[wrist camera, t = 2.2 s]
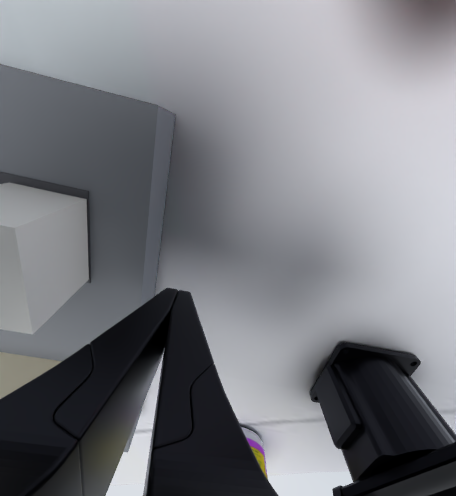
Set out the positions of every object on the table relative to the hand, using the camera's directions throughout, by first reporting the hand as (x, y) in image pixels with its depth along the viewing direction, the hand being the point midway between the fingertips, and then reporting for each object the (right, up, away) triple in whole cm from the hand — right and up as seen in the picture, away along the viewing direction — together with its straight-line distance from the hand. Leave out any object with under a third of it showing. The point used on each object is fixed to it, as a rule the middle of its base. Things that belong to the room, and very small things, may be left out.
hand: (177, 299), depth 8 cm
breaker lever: (-6, +2, +2) cm, 7 cm away
